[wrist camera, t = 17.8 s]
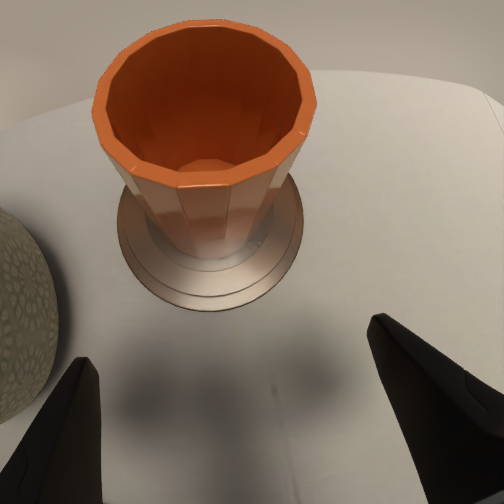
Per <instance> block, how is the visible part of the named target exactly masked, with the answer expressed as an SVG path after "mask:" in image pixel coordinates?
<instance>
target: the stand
mask: <svg viewBox="0 0 504 504" xmlns="http://www.w3.org/2000/svg"><path fill="white" fill-rule="evenodd" d="M303 225H304V217H303V207H302V202H301V198H300V195H299V192H298V189H297V186H296V184H295V182H294V180H293V178H292V176H291V175H290V173H289V172H288V174H287V176H286V178H285V179H284V181H283V183H282V185H281V187H280V189H279V191H278V193H277V195H276V197H275V198H274V200H273V202H272V204H271V206H270V208H269V210H268V212H267V214H266V216H265V217H264V219H263V221H262V223H261V225H260V227H259V229H258V231H257V232H256V233H255V234H254V236H253V237H252V238H251V239H250V241H249V242H248V243H247V244H246V245H245V246H243V247H242V248H241V249H239V250H238V251H236V252H234V253H232V254H230V255H227V256H225V257H221V258H215V259H201V258H196V257H192V256H189V255H187V254H184V253H182V252H181V251H179V250H177V249H176V248H175V247H173V246H172V245H171V244H170V243H169V242H168V241H167V240H166V238H164V237H163V236H162V234H161V233H160V232H159V230H158V229H157V227H156V226H155V225H154V223H153V222H152V220H151V219H150V218H149V216H148V215H147V213H146V212H145V211H144V209H143V208H142V206H141V205H140V203H139V202H138V201H137V199H136V198H135V196H134V195H133V193H132V192H131V190H130V189H129V188H128V186H127V185H125V187H124V190H123V193H122V195H121V199H120V203H119V207H118V215H117V232H118V238H119V244H120V247H121V250H122V253H123V256H124V258H125V260H126V262H127V264H128V266H129V268H130V269H131V271H132V272H133V274H134V275H135V277H136V278H137V279H138V280H139V281H140V282H141V283H142V284H143V286H144V287H146V288H147V289H148V290H149V291H150V292H152V293H153V294H154V295H156V296H157V297H159V298H161V299H162V300H164V301H166V302H168V303H170V304H173V305H175V306H177V307H181V308H184V309H188V310H194V311H201V312H217V311H225V310H230V309H234V308H238V307H241V306H244V305H246V304H248V303H251V302H253V301H255V300H256V299H258V298H260V297H261V296H263V295H265V294H266V293H267V292H268V291H270V290H271V289H272V288H273V287H275V285H276V284H277V283H278V282H279V281H280V280H281V279H282V278H283V277H284V276H285V274H286V273H287V271H288V270H289V269H290V267H291V265H292V263H293V261H294V260H295V258H296V255H297V253H298V250H299V247H300V244H301V240H302V235H303Z"/></svg>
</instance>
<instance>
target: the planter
mask: <svg viewBox="0 0 504 504" xmlns="http://www.w3.org/2000/svg"><path fill="white" fill-rule="evenodd" d="M58 330H59V319H58V305H57V298H56V292H55V287H54V283H53V280H52V276H51V273H50V270H49V267H48V265H47V262H46V260H45V258H44V256H43V254H42V252H41V250H40V248H39V247H38V245H37V243H36V242H35V240H34V239H33V238H32V236H31V235H30V234H29V232H28V231H27V230H26V229H25V228H24V227H23V226H22V225H21V224H20V223H19V222H18V221H17V220H16V219H15V218H14V217H12V216H11V215H10V214H8V213H7V212H6V211H5V210H3V209H2V208H1V207H0V424H2V423H4V422H6V421H7V420H9V419H11V418H12V417H14V416H15V415H17V414H18V413H19V412H21V411H22V410H23V409H25V408H26V407H27V406H28V405H29V404H30V403H31V402H32V401H33V400H34V399H35V398H36V397H37V395H38V394H39V392H40V391H41V389H42V388H43V386H44V385H45V383H46V381H47V379H48V376H49V374H50V371H51V369H52V366H53V363H54V359H55V355H56V350H57V343H58Z"/></svg>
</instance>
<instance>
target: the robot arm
mask: <svg viewBox="0 0 504 504" xmlns="http://www.w3.org/2000/svg"><path fill="white" fill-rule="evenodd" d="M367 339H368V342H369V345H370V348H371V351H372V355H373V358H374V361H375V364H376V368H377V371H378V374H379V377H380V379H381V382H382V384H383V386H384V389H385V391H386V394H387V396H388V398H389V401H390V403H391V405H392V408H393V410H394V413H395V415H396V418H397V420H398V423H399V425H400V428H401V430H402V433H403V435H404V438H405V440H406V443H407V445H408V448H409V451H410V453H411V456H412V459H413V461H414V464H415V467H416V469H417V472H418V475H419V478H420V481H421V484H422V486H423V489H424V492H425V495H426V498H427V501H428V504H504V395H503V394H502V393H500V392H498V391H497V390H495V389H493V388H492V387H490V386H488V385H487V384H485V383H484V382H482V381H481V380H479V379H478V378H476V377H475V376H473V375H472V374H471V373H469V372H468V371H466V370H464V369H463V368H462V367H461V366H459V365H458V364H457V363H455V362H454V361H452V360H451V359H450V358H448V357H447V356H445V355H444V354H443V353H441V352H440V351H438V350H437V349H436V348H434V347H433V346H431V345H430V344H428V343H427V342H426V341H424V340H423V339H421V338H420V337H419V336H417V335H416V334H414V333H413V332H411V331H410V330H409V329H407V328H406V327H404V326H403V325H401V324H400V323H399V322H397V321H396V320H394V319H393V318H391V317H390V316H388V315H387V314H385V313H380V314H376V315H373V316H372V318H371V321H370V324H369V327H368V330H367ZM0 504H103V501H102V482H101V406H100V388H99V375H98V372H97V370H96V369H95V367H94V366H93V364H92V363H91V361H90V359H89V358H87V357H77V358H75V359H74V360H73V362H72V363H71V364H70V366H69V367H68V369H67V370H66V372H65V373H64V375H63V376H62V377H61V379H60V380H59V382H58V383H57V385H56V386H55V388H54V389H53V391H52V392H51V394H50V395H49V397H48V398H47V400H46V401H45V403H44V405H43V406H42V408H41V409H40V411H39V412H38V414H37V415H36V417H35V419H34V420H33V422H32V423H31V425H30V427H29V428H28V430H27V432H26V433H25V435H24V437H23V438H22V441H20V443H19V445H18V446H17V448H16V450H15V451H14V453H13V455H12V456H11V458H10V459H9V461H8V462H7V464H6V465H5V467H4V468H3V470H2V471H1V473H0Z"/></svg>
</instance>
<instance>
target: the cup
mask: <svg viewBox="0 0 504 504" xmlns="http://www.w3.org/2000/svg"><path fill="white" fill-rule="evenodd" d="M316 106H317V101H316V96H315V92H314V87H313V83H312V79H311V74H310V72H309V70H308V69H307V68H306V66H305V65H304V64H303V62H302V61H301V60H300V59H299V57H298V56H297V55H296V54H295V52H294V51H293V50H292V49H291V48H290V47H289V46H288V45H287V44H285V43H284V42H282V41H281V40H279V39H277V38H276V37H274V36H272V35H270V34H269V33H267V32H265V31H264V30H262V29H260V28H259V29H258V27H254V26H250V25H246V24H242V23H237V22H233V21H229V20H223V19H214V20H213V19H211V20H189V21H183V22H180V23H176V24H173V25H170V26H166V27H163V28H160V29H157V30H154V31H151V33H148V34H146V35H145V36H143V37H141V38H140V39H138V40H137V41H135V42H134V43H132V44H131V45H130V46H128V47H127V48H125V49H124V50H123V51H121V52H120V53H119V54H118V55H117V57H116V58H115V59H114V60H113V62H112V63H111V64H110V66H109V67H108V68H107V70H106V71H105V72H104V74H103V76H102V77H101V78H100V79H99V81H98V85H97V89H96V94H95V98H94V102H93V107H92V112H91V113H92V118H93V122H94V125H95V129H96V132H97V135H98V139H99V142H100V145H101V147H102V149H103V150H104V152H105V153H106V155H107V156H108V158H109V159H110V161H111V162H112V164H113V165H114V167H115V168H116V170H117V171H118V173H119V174H120V176H121V177H122V179H123V180H124V182H125V183H126V185H127V186H128V188H129V189H130V190H131V192H132V193H133V195H134V196H135V198H136V199H137V201H138V202H139V203H140V205H141V206H142V208H143V209H144V211H145V212H146V213H147V215H148V216H149V218H150V219H151V220H152V222H153V223H154V225H155V226H156V227H157V229H158V230H159V232H160V233H161V234H162V236H163V237H164V238H166V240H167V241H168V242H169V243H170V244H171V245H172V246H173V247H175V248H176V249H177V250H179V251H181V252H182V253H184V254H187V255H189V256H192V257H196V258H201V259H215V258H221V257H225V256H227V255H230V254H232V253H234V252H236V251H238V250H239V249H241V248H242V247H243V246H245V245H246V244H247V243H248V242H249V241H250V239H251V238H252V237H253V236H254V234H255V233H256V232H257V231H258V229H259V227H260V225H261V223H262V221H263V219H264V217H265V216H266V214H267V212H268V210H269V208H270V206H271V204H272V202H273V200H274V198H275V197H276V195H277V193H278V191H279V189H280V187H281V185H282V183H283V181H284V179H285V178H286V176H287V174H288V172H289V170H290V168H291V166H292V164H293V162H294V161H295V159H296V157H297V155H298V153H299V151H300V149H301V147H302V145H303V143H304V142H305V140H306V138H307V136H308V133H309V129H310V126H311V123H312V119H313V116H314V113H315V110H316Z"/></svg>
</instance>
